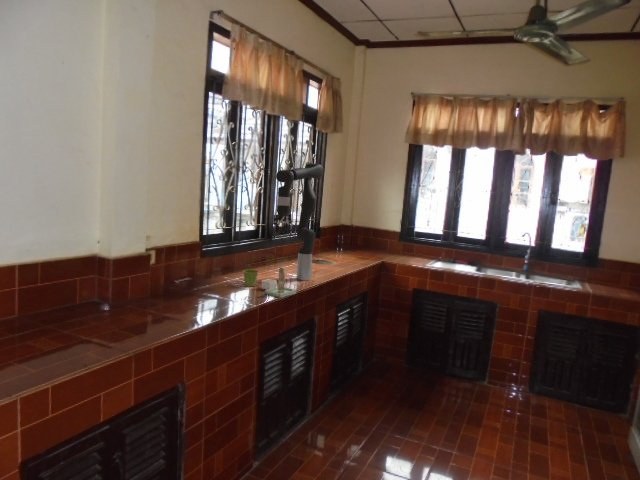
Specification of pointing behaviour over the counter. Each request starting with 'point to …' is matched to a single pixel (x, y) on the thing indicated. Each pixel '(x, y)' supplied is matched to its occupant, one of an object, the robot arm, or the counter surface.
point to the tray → (275, 293)
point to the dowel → (281, 280)
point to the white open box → (269, 284)
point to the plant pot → (250, 277)
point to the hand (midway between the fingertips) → (281, 231)
